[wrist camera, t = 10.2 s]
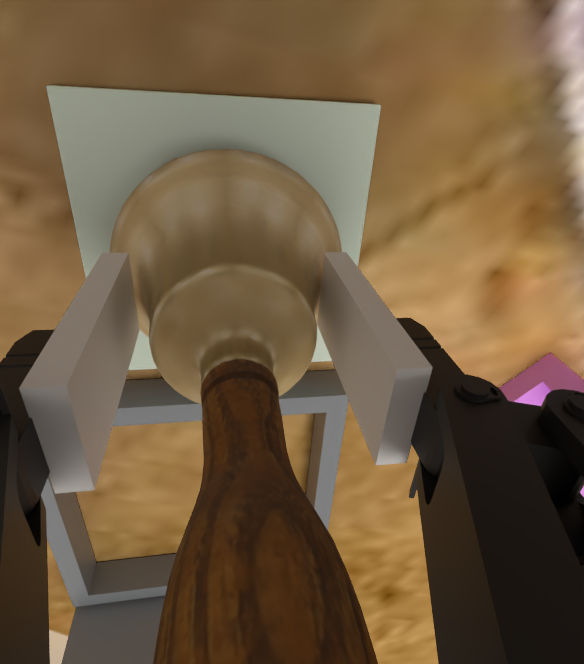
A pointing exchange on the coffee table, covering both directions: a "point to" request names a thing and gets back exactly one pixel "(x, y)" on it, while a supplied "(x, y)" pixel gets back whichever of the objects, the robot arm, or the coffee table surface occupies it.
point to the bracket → (542, 382)
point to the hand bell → (241, 405)
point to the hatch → (153, 572)
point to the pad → (206, 134)
